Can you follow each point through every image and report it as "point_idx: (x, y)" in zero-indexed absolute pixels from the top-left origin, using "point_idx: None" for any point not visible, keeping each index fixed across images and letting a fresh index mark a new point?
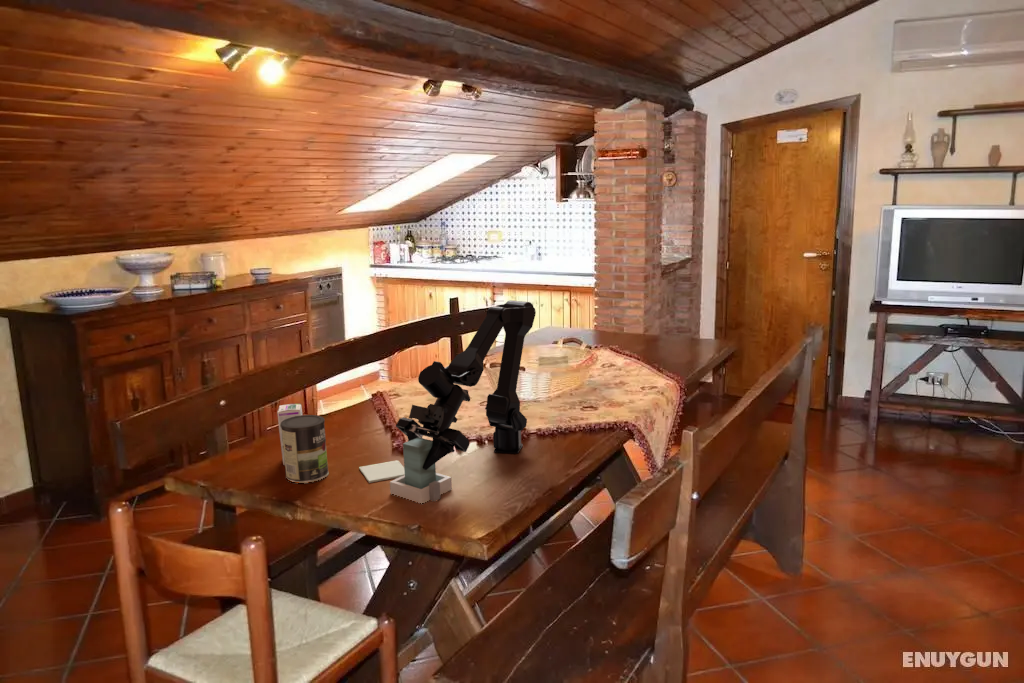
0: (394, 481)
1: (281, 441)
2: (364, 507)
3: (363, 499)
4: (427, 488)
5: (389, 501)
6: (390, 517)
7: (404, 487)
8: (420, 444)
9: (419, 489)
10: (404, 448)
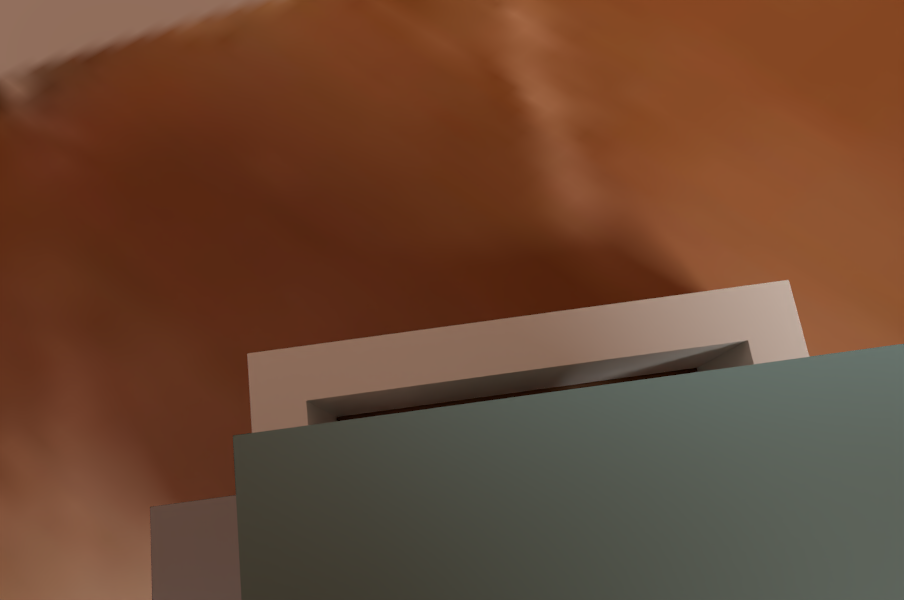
0: (754, 325)
1: None
2: (637, 5)
3: (798, 85)
4: None
5: (585, 213)
6: (304, 37)
7: (530, 316)
8: None
9: (317, 380)
10: None
